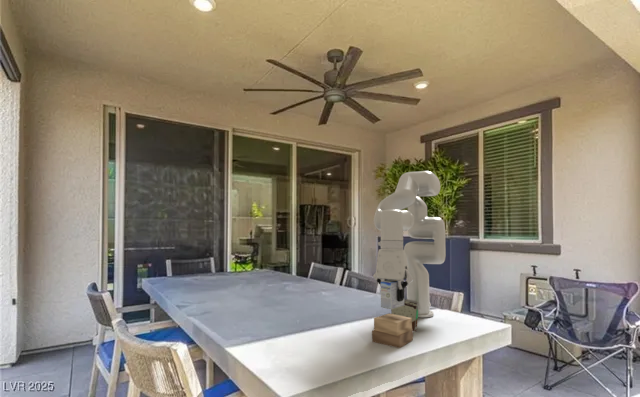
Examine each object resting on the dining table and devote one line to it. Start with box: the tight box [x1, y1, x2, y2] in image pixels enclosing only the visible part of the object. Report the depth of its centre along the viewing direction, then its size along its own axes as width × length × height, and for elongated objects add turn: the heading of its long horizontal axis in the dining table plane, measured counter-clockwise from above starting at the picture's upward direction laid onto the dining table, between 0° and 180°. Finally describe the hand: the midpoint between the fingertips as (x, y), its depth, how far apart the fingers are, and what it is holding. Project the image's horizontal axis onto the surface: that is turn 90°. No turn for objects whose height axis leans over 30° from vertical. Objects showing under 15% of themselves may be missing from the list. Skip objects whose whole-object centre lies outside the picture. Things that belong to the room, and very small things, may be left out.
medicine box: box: [380, 280, 405, 310], centre depth 122 cm, size 8×4×9 cm, turn 135°
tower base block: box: [371, 329, 414, 349], centre depth 121 cm, size 10×10×4 cm
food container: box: [390, 298, 420, 333], centre depth 137 cm, size 12×6×10 cm, turn 47°
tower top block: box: [373, 312, 412, 336], centre depth 121 cm, size 9×9×4 cm
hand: (392, 299), depth 122 cm, fingers closed on medicine box, 4 cm apart
